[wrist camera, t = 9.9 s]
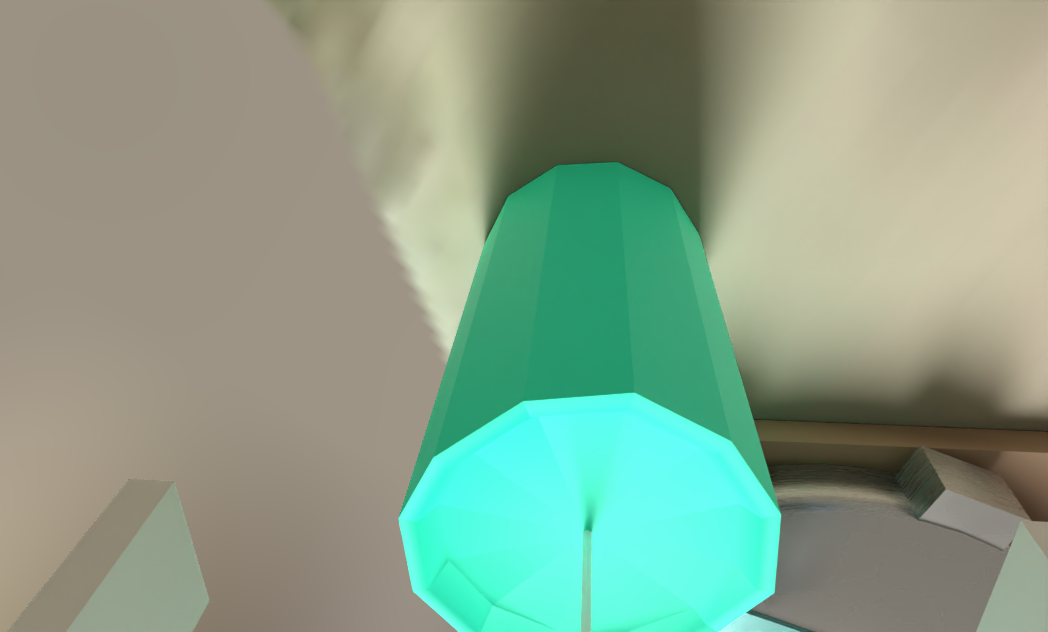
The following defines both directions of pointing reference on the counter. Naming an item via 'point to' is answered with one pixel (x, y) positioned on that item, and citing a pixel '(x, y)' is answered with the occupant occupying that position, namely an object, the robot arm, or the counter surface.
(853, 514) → the turntable
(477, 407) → the candle
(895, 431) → the base board
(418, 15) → the counter surface
